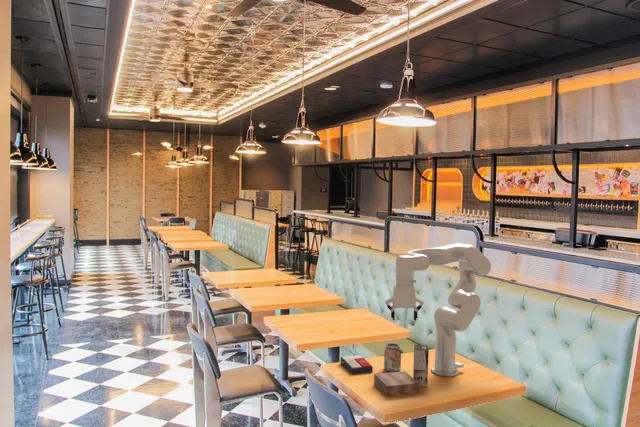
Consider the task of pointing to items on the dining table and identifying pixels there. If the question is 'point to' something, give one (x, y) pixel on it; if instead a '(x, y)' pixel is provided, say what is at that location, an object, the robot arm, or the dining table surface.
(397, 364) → the beverage can
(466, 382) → the dining table surface
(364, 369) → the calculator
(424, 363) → the coffee box
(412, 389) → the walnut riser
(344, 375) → the dining table surface
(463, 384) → the dining table surface
